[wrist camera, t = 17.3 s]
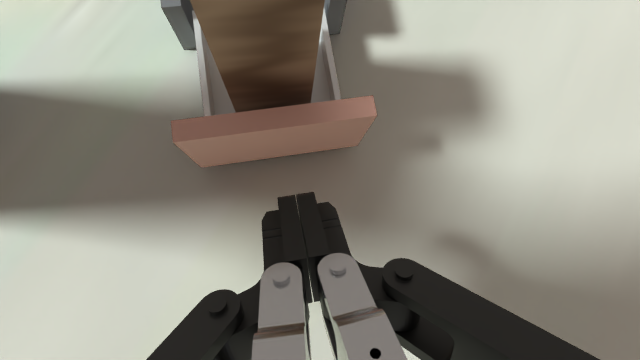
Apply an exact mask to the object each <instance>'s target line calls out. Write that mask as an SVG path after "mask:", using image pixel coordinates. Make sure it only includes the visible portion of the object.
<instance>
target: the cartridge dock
mask: <svg viewBox="0 0 640 360" xmlns="http://www.w3.org/2000/svg"><path fill="white" fill-rule="evenodd" d="M346 2H347V0H325V3H324V9H325V14H326V20H327V25H328V31H329V34H339V33H340V29H341V24H342V20H343V15H344V11H345V7H346ZM161 8H162V10H163V12H164V14H165V15H166V17H167V19H168V21H169V23H170V25H171V26H172V28H173V30H174V32H175V34H176V36H177V38H178V39H179V41H180V43H181V45H182V47H183V49H184V50H186V49H196V40H195V32H194V23H193V15H192V11H194V9H193V7H192V4H191V2H190V0H161Z"/></svg>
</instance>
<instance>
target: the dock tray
mask: <svg viewBox="0 0 640 360" xmlns="http://www.w3.org/2000/svg"><path fill="white" fill-rule="evenodd" d="M192 15H193V23H194V32H195V40H196V49H197V58H198V66H199V75H200V84H201V92H202V101H203V109H204V117H197V118H189V119H181V120H173V121H171V128H172V138H173V143H174V144H175V145H176V146H177V147H179V148H180V149H181V150H182V151H183V152H184V153H185V154H186V155H188V156H189V157H190V158H191V159H192V160H193V161H194V162H196V163H197V164H198V165H199V166H200V167H201V168H203V167H210V166H217V165H224V164H232V163H239V162H246V161H253V160H260V159H267V158H274V157H281V156H288V155H295V154H303V153H310V152H317V151H324V150H331V149H338V148H345V147H352V146H357V145H358V144H359V142H360V141H361V139H362V138H363V136H364V135H365V133H366V132H367V130H368V129H369V127H370V126H371V124H372V123H373V121H374V120H375V118H376V117H377V112H376V107H375V102H374V97H373V95H372V96H364V97H356V98H348V99H341V95H340V89H339V84H338V79H337V73H336V68H335V63H334V57H333V52H332V47H331V41H330V36H329V31H328V25H327V20H326V14H325V9H324V10H323V17H322V25H321V32H320V39H319V46H318V53H317V61H316V68H315V75H314V82H313V90H312V97H311V103H308V104H300V105H292V106H284V107H276V108H268V109H260V110H252V111H244V112H235V109H234V107H233V104H232V102H231V100H230V97H229V95H228V92H227V90H226V87H225V85H224V83H223V80H222V78H221V75H220V73H219V70H218V68H217V65H216V63H215V61H214V58H213V56H212V53H211V51H210V48H209V46H208V43H207V41H206V39H205V36H204V34H203V31H202V29H201V26H200V24H199V21H198V19H197V17H196V14H195V12H194V11H192Z"/></svg>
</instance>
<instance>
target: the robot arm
mask: <svg viewBox="0 0 640 360" xmlns="http://www.w3.org/2000/svg"><path fill="white" fill-rule="evenodd" d="M296 197H297V203H296V198H295V195H291V196H285V197H278V206H279V210H275V211H269V212H266V214H265V216H264V218H263V220H262V236H263V256H264V273H263V274H262V277H261V279H260V280H259V282H258V283H257V284H256V285H254V286H253V287H252V288H250V289H248V290H246V291H244V292H242V293H240V294H238V295H237V294H236V293H235V292H233V291H231V290H217V291H214V292H212V293H210V294H208V295H207V296H205V297H204V298H203V299H202V300H201V301H200V302H199V303H198V304H197V306H196V307H195V308H194V309H193V310H192V311H191V312H190V313H189V314H188V315H187V316H186V317H185V318H184V320H183V321H182V322H181V323H180V324H179V325H178V326H177V327H176V328H175V329H174V330H173V331H172V332H171V334H170V335H169V336H168V337H167V338H166V339H165V340H164V341H163V342H162V343H161V344H160V345H159V347H158V348H157V349H156V350H155V351H154V352H153V353H152V354H151V355H150V356H149V357H148V358H147V359H146V360H312V358H311V345H310V332H309V308H308V303H312V295H311V287H312V292H313V298H314V302H316V301H320V303H321V308H322V315H323V322H324V325H325V329H326V332H327V336H328V339H329V343H330V346H331V349H332V353H333V356H334V360H407V358H406V356H405V354H404V352H403V349H402V347H404V348H405V349H407V350H408V351H409V352H411V353H412V354H414V355H415V356H417V357H418V358H419V359H421V360H600V359H598V358H596V357H594V356H592V355H590V354H588V353H586V352H584V351H583V350H581V349H579V348H577V347H575V346H573V345H571V344H569V343H567V342H566V341H564V340H562V339H560V338H558V337H556V336H554V335H552V334H550V333H549V332H547V331H545V330H543V329H541V328H539V327H537V326H535V325H534V324H532V323H530V322H528V321H526V320H524V319H522V318H520V317H518V316H517V315H515V314H513V313H511V312H509V311H507V310H505V309H503V308H501V307H500V306H498V305H496V304H494V303H492V302H490V301H488V300H486V299H484V298H483V297H481V296H479V295H477V294H475V293H473V292H471V291H469V290H467V289H466V288H464V287H462V286H460V285H458V284H456V283H454V282H452V281H450V280H449V279H447V278H445V277H443V276H441V275H439V274H437V273H435V272H433V271H432V270H430V269H428V268H426V267H424V266H422V265H420V264H418V263H416V262H415V261H412V260H410V259H405V258H398V259H393V260H391V261H389V262H388V263H387V264H386V265H385V266H384V268H379V267H369V266H365V265H363V264H360V263H359V262H357V261H356V260H355V259H354V258H353V257H352V256H351V253H350V251H349V248H348V245H347V242H346V239H345V236H344V233H343V230H342V227H341V224H340V220H339V217H338V214H337V211H336V209H335V208H334V207H333V206H332V205H331V204H330V203H329V202H324V203H318V204H317V202H316V199H315V195H314V192H309V193H303V194H297V195H296ZM297 204H298V209H297ZM298 212H299V214H298ZM308 271H309V272H308ZM309 276H310V279H309ZM310 281H311V287H310ZM401 346H402V347H401Z"/></svg>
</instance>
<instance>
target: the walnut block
mask: <svg viewBox="0 0 640 360" xmlns="http://www.w3.org/2000/svg"><path fill="white" fill-rule="evenodd" d="M190 2H191V4H192V7H193V9H194V12H195V14H196V17H197V19H198V21H199V24H200V26H201V29H202V31H203V34H204V36H205V39H206V41H207V43H208V46H209V48H210V51H211V53H212V56H213V58H214V61H215V63H216V65H217V68H218V70H219V73H220V75H221V78H222V80H223V83H224V85H225V87H226V90H227V92H228V95H229V97H230V100H231V102H232V104H233V107H234V109H235V112H244V111H252V110H260V109H268V108H276V107H284V106H292V105H300V104H308V103H311V97H312V90H313V82H314V75H315V68H316V61H317V53H318V46H319V39H320V32H321V25H322V17H323V10H324V3H325V0H190Z"/></svg>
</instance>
